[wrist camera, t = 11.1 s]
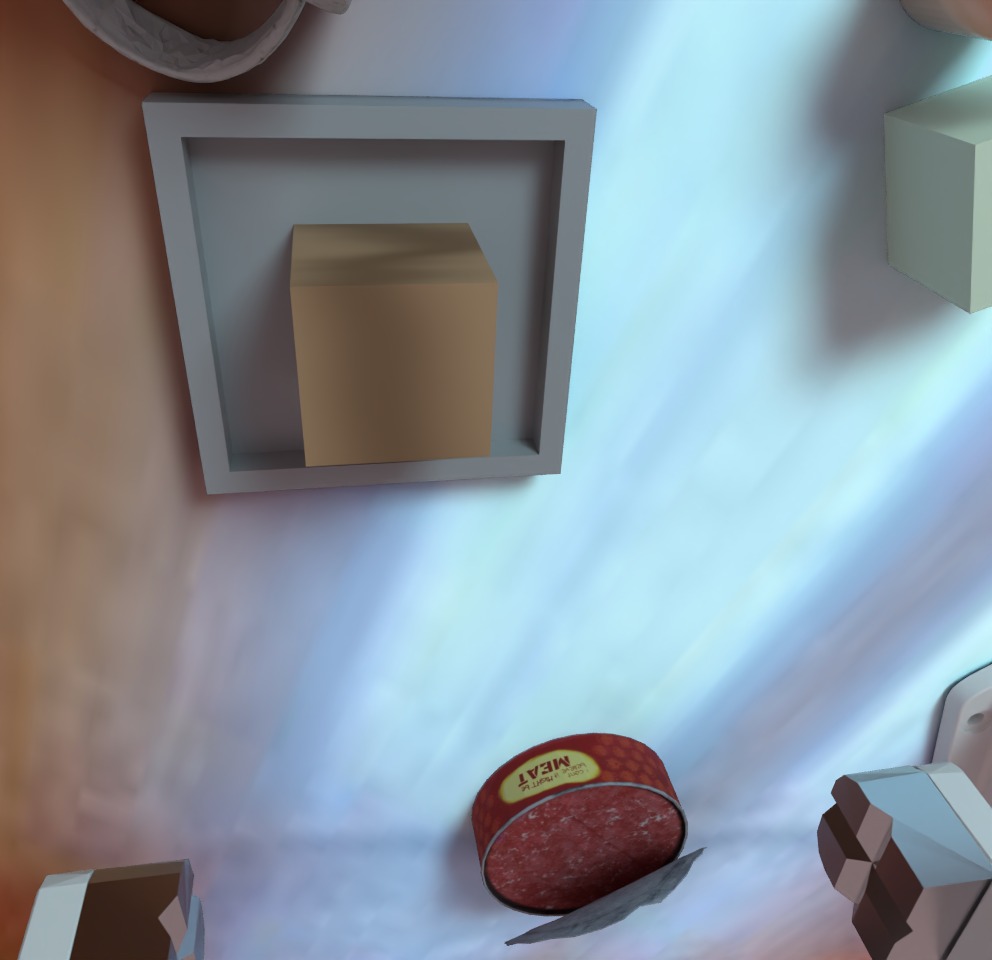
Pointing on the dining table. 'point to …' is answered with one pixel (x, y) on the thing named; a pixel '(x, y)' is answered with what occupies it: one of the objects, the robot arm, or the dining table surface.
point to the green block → (942, 193)
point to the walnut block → (393, 342)
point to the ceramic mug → (188, 38)
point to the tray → (364, 200)
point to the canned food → (580, 833)
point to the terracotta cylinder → (953, 16)
